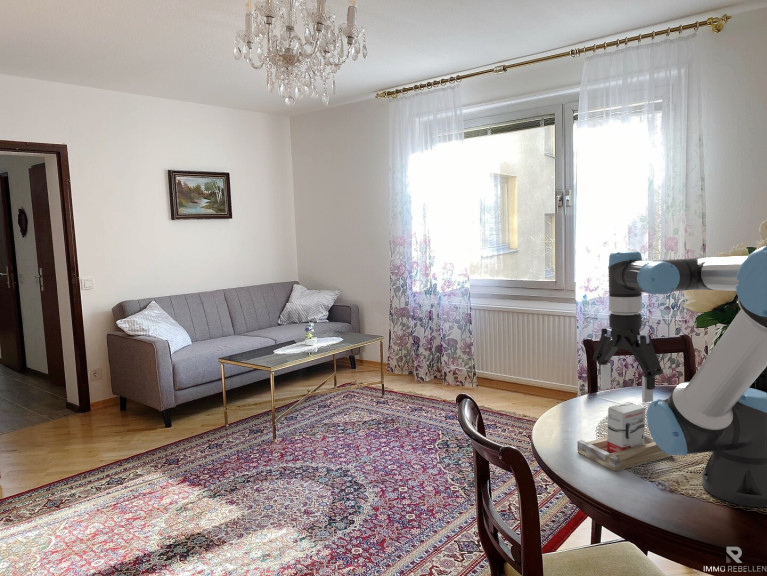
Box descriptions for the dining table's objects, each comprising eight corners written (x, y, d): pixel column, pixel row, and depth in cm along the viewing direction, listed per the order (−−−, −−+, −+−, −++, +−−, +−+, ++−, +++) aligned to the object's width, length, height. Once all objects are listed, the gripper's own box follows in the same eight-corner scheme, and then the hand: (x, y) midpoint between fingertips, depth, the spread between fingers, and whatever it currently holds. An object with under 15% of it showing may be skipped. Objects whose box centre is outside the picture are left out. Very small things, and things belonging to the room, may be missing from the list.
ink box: (622, 458, 139) (622, 412, 137) (606, 451, 143) (606, 407, 142) (645, 450, 142) (646, 406, 141) (629, 443, 147) (629, 401, 145)
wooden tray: (672, 455, 141) (672, 444, 140) (615, 471, 134) (615, 459, 133) (631, 438, 153) (631, 427, 152) (577, 451, 146) (577, 440, 145)
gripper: (679, 316, 129) (679, 405, 131) (600, 306, 152) (600, 381, 154) (655, 320, 126) (655, 410, 128) (578, 308, 149) (579, 385, 151)
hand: (625, 394), depth 141 cm, fingers open, 13 cm apart
